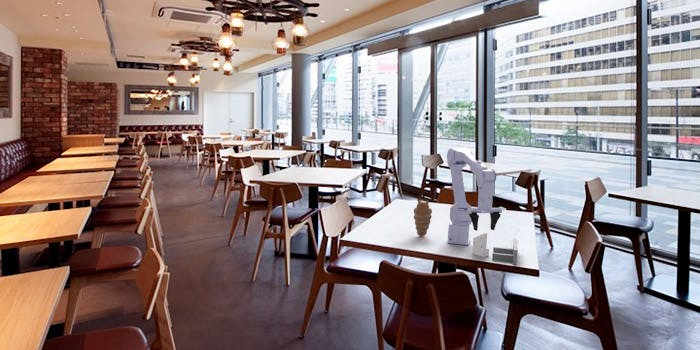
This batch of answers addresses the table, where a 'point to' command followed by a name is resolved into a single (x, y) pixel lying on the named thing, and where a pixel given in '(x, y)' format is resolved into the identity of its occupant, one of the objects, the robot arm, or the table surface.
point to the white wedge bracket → (480, 245)
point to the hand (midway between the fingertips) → (484, 229)
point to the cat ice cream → (422, 217)
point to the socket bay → (506, 253)
